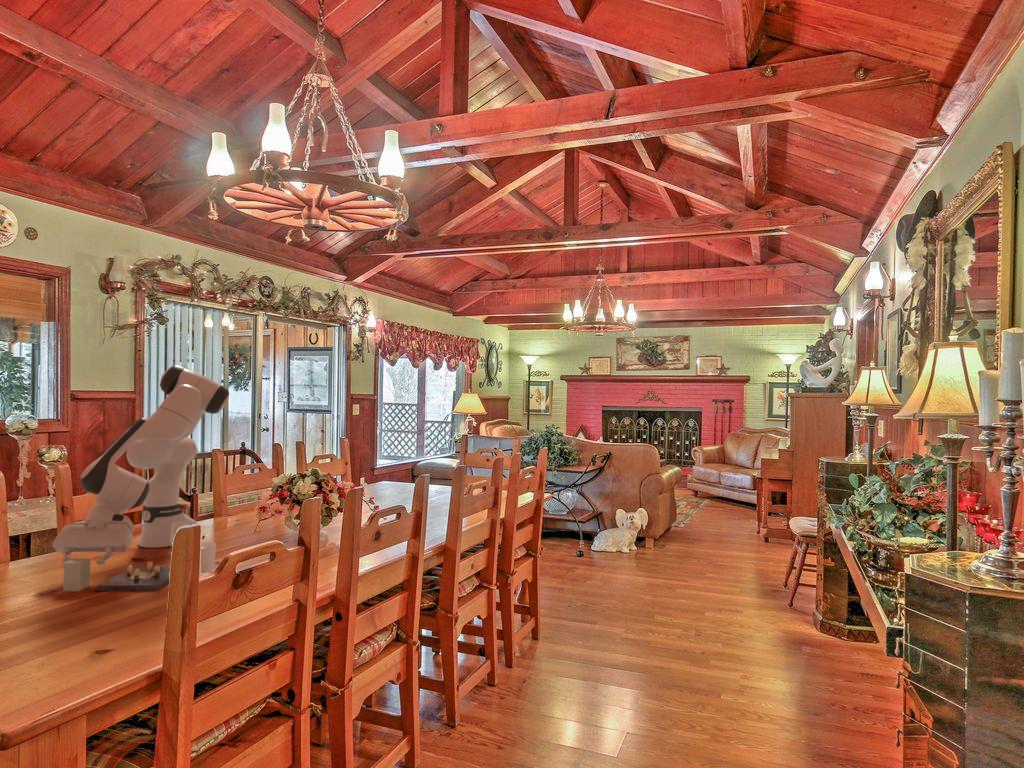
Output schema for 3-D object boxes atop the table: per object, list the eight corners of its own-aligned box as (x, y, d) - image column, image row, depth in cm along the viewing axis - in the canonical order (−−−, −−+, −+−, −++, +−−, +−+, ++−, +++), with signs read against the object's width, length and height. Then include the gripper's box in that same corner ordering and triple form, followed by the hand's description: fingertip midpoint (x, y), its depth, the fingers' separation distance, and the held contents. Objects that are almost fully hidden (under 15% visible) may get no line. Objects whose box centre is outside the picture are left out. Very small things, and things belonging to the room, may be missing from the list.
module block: (73, 586, 181) (73, 558, 181) (89, 586, 181) (90, 558, 181) (63, 591, 176) (64, 562, 176) (80, 591, 177) (80, 562, 177)
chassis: (130, 571, 195) (131, 557, 195) (184, 571, 197) (184, 557, 197) (97, 590, 177) (98, 574, 177) (156, 590, 179) (157, 574, 179)
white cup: (220, 574, 195) (221, 542, 195) (205, 582, 187) (206, 548, 187) (196, 573, 196) (197, 541, 196) (180, 580, 188) (181, 547, 188)
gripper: (61, 516, 187) (39, 558, 177) (133, 516, 189) (115, 557, 179) (70, 528, 191) (48, 569, 182) (140, 528, 193) (123, 568, 184)
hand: (82, 563), depth 180 cm, fingers open, 8 cm apart
